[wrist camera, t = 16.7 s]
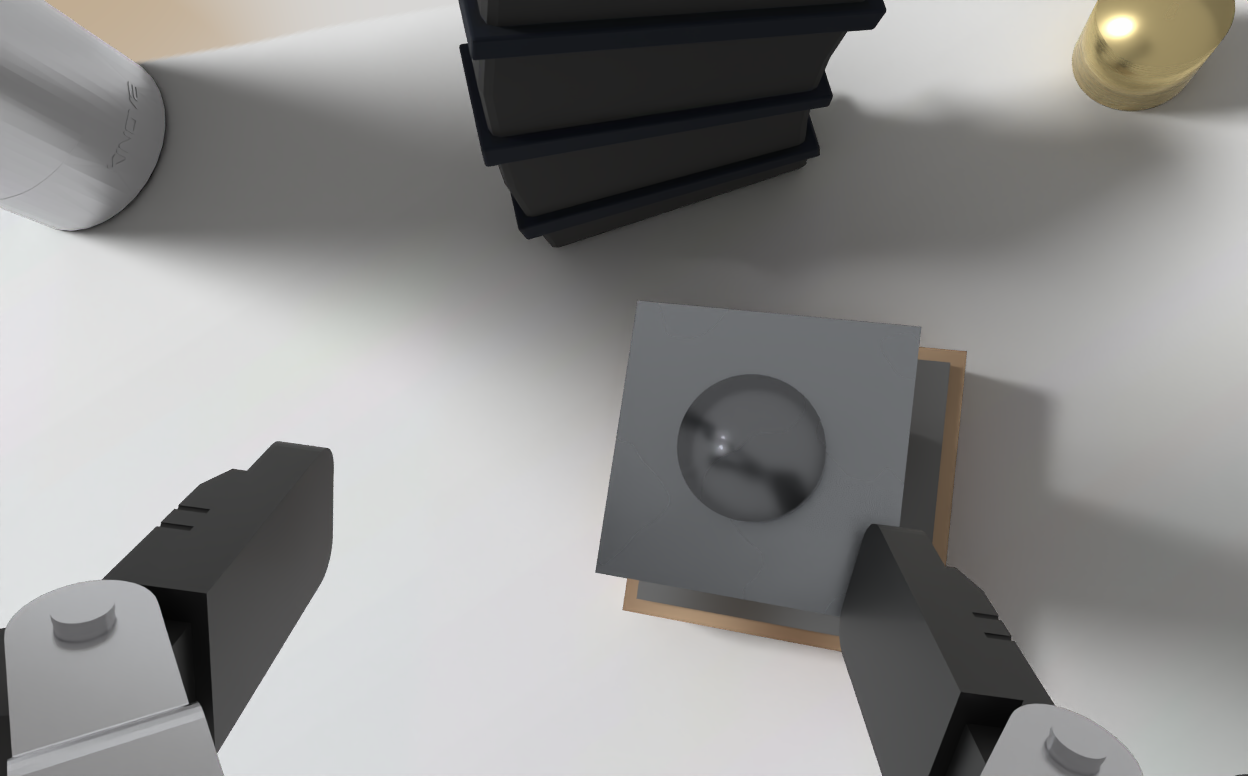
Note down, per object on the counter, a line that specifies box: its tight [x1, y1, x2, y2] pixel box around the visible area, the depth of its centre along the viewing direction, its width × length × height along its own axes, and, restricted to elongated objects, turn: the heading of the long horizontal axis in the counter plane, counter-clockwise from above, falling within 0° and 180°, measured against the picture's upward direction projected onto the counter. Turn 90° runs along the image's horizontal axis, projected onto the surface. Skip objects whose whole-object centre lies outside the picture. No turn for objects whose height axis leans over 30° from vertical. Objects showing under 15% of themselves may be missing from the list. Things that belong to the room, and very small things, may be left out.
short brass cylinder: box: [1072, 0, 1235, 111], centre depth 28 cm, size 4×4×3 cm
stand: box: [623, 347, 967, 652], centre depth 28 cm, size 10×10×3 cm
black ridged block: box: [459, 0, 886, 247], centre depth 28 cm, size 4×13×15 cm, turn 103°
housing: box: [595, 301, 921, 617], centre depth 20 cm, size 5×5×14 cm
